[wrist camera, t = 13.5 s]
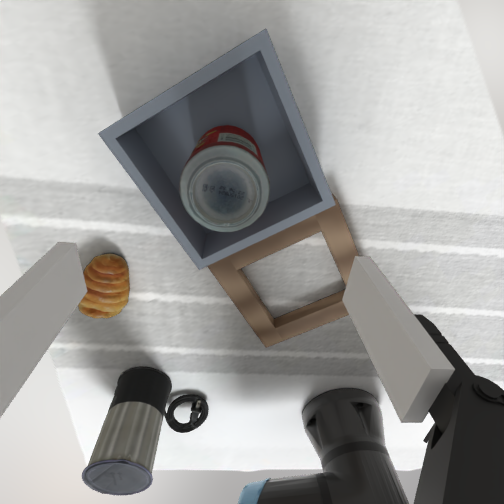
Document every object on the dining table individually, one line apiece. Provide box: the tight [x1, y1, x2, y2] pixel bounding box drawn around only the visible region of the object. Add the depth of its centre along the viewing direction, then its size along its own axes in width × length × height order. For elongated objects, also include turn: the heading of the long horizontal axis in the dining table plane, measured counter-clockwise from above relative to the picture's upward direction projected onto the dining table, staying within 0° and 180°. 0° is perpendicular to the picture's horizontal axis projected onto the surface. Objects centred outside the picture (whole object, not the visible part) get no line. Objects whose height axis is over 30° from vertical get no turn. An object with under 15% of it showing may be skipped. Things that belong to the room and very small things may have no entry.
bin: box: [98, 29, 336, 270], centre depth 31 cm, size 16×16×7 cm
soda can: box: [179, 125, 270, 232], centre depth 28 cm, size 7×7×12 cm
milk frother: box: [82, 367, 209, 495], centre depth 48 cm, size 14×16×15 cm
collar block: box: [208, 194, 359, 348], centre depth 42 cm, size 18×18×2 cm
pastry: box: [78, 254, 130, 318], centre depth 40 cm, size 9×7×4 cm
